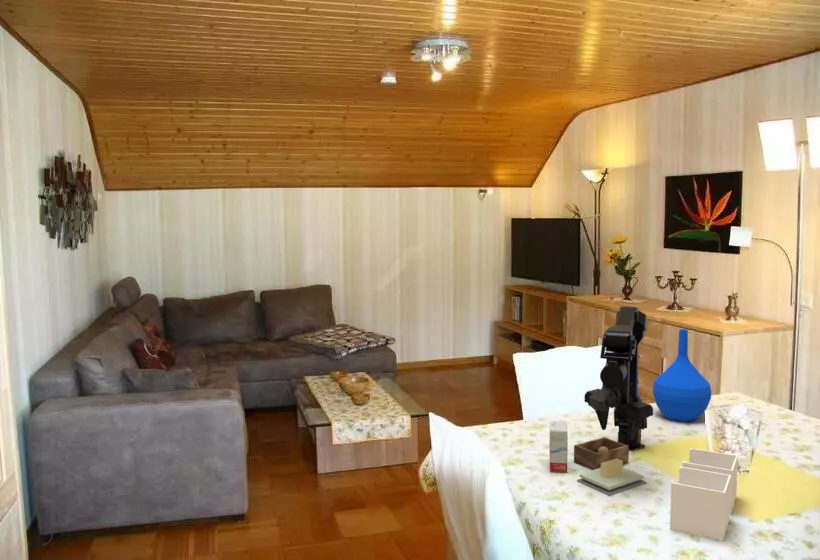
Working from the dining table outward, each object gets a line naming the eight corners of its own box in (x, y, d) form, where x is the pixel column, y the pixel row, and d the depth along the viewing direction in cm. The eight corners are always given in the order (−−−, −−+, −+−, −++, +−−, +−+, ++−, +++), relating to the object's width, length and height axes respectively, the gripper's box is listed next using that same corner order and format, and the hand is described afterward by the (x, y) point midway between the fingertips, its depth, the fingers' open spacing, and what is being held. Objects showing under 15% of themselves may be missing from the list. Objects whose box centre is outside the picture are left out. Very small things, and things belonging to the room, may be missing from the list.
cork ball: (602, 454, 200) (603, 444, 200) (611, 457, 198) (611, 447, 198) (595, 456, 199) (595, 446, 199) (603, 459, 196) (603, 449, 196)
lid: (613, 469, 190) (614, 451, 189) (643, 481, 182) (644, 462, 181) (579, 480, 183) (579, 461, 183) (608, 493, 175) (609, 473, 174)
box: (603, 453, 203) (604, 436, 202) (628, 463, 195) (628, 445, 195) (573, 462, 197) (574, 445, 196) (598, 472, 189) (598, 454, 188)
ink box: (567, 473, 189) (568, 431, 187) (549, 472, 190) (549, 430, 188) (566, 461, 197) (567, 421, 196) (549, 460, 198) (549, 420, 197)
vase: (657, 424, 228) (659, 334, 224) (647, 408, 246) (649, 324, 242) (716, 426, 225) (720, 335, 221) (702, 410, 243) (705, 325, 239)
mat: (613, 469, 191) (613, 468, 191) (646, 483, 181) (646, 481, 181) (576, 481, 183) (576, 479, 183) (609, 495, 174) (609, 494, 174)
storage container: (723, 541, 151) (725, 492, 149) (669, 530, 156) (671, 482, 155) (736, 498, 172) (737, 455, 171) (688, 489, 178) (690, 447, 176)
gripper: (569, 374, 187) (569, 430, 189) (624, 391, 171) (624, 452, 173) (599, 368, 193) (598, 422, 195) (655, 383, 177) (653, 442, 179)
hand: (617, 434), depth 185 cm, fingers open, 9 cm apart
